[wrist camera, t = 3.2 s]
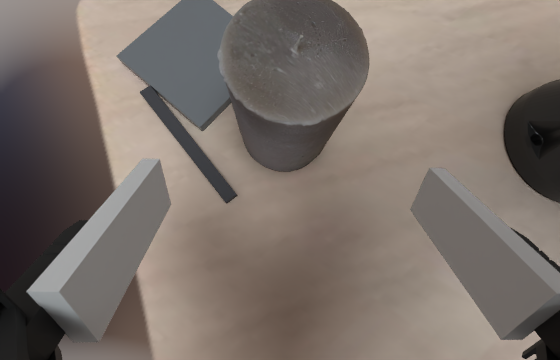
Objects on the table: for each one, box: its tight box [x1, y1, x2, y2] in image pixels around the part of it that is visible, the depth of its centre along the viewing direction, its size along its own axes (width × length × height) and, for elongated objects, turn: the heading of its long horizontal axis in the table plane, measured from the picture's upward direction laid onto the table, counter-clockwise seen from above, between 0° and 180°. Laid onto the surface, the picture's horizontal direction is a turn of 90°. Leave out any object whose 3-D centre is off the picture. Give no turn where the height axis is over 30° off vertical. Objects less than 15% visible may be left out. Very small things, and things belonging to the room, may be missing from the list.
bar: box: [140, 86, 237, 203], centre depth 28 cm, size 1×16×1 cm, turn 39°
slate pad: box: [117, 0, 233, 131], centre depth 29 cm, size 13×13×1 cm
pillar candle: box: [217, 0, 369, 171], centre depth 22 cm, size 10×10×15 cm
